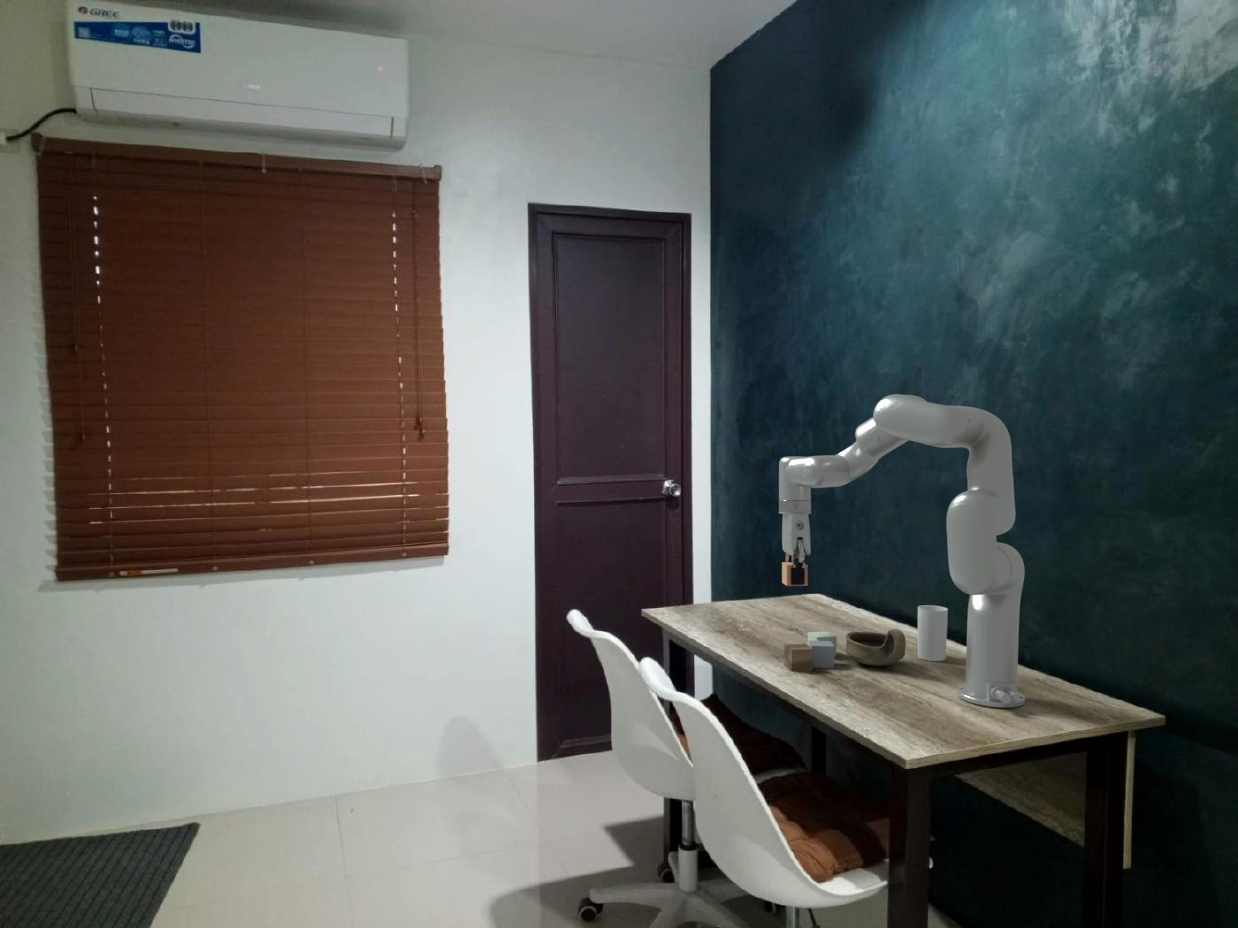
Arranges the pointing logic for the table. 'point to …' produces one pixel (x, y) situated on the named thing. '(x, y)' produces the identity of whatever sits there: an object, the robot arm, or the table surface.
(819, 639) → the sage cube
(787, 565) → the terracotta cube
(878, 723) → the table surface
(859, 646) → the bowl
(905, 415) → the robot arm
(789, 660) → the walnut cube
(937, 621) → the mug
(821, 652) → the slate cube
